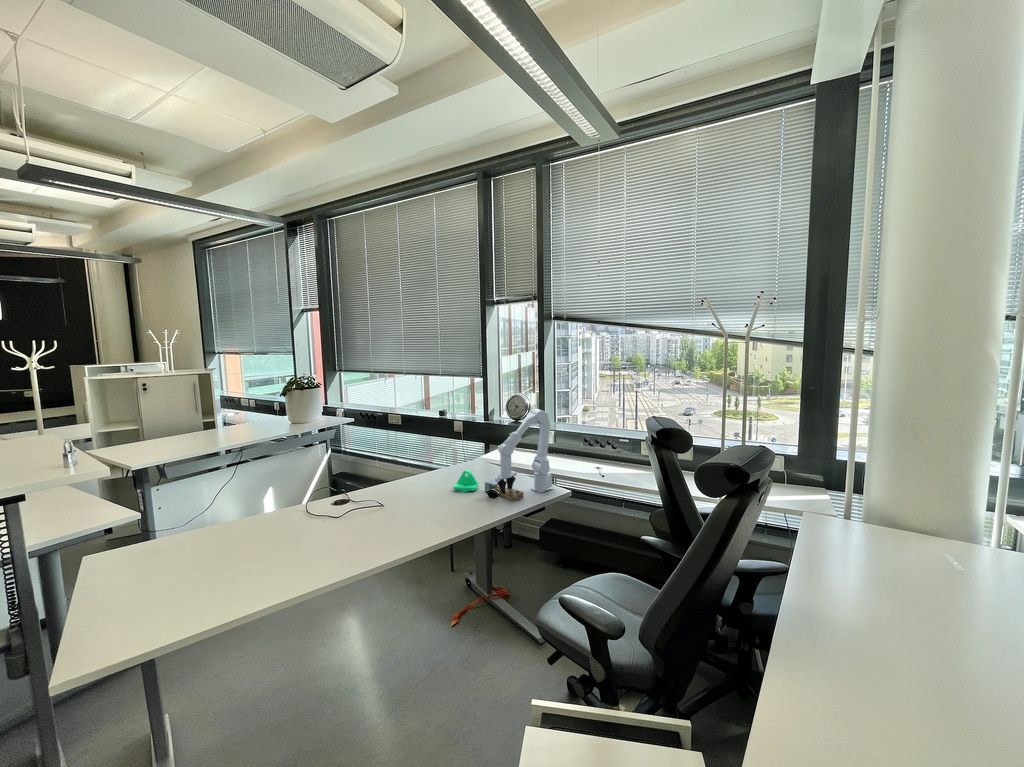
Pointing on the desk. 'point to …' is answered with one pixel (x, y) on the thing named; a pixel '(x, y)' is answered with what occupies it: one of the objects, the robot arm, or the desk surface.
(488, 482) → the keeper
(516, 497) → the lever
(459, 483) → the green triangular piece
